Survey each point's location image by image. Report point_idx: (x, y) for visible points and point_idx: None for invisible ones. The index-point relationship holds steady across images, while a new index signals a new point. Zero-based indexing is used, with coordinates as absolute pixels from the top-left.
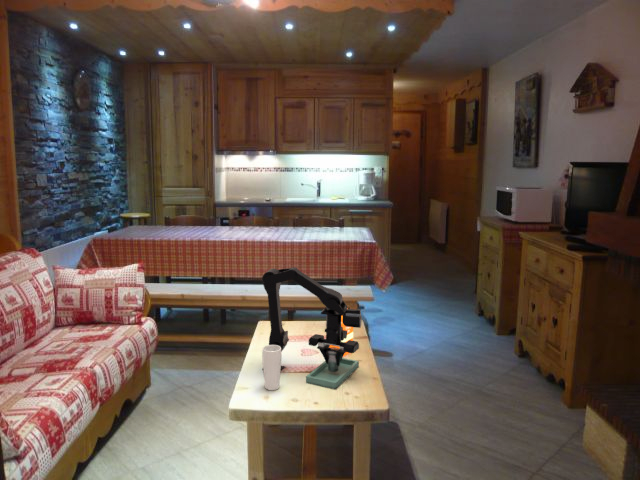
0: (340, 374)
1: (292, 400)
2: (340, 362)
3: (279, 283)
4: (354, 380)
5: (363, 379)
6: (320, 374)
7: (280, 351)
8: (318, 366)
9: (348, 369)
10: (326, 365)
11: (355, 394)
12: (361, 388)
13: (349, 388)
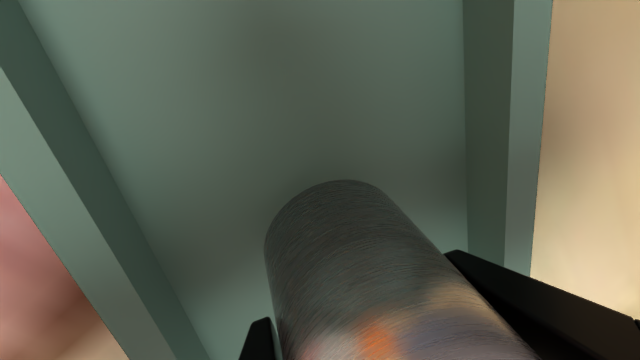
0: (409, 190)
1: None
2: (508, 281)
3: None
4: (554, 159)
5: (625, 79)
6: (237, 334)
7: None
8: (134, 357)
9: (525, 139)
10: (83, 140)
11: (612, 309)
12: (634, 226)
13: (557, 286)
